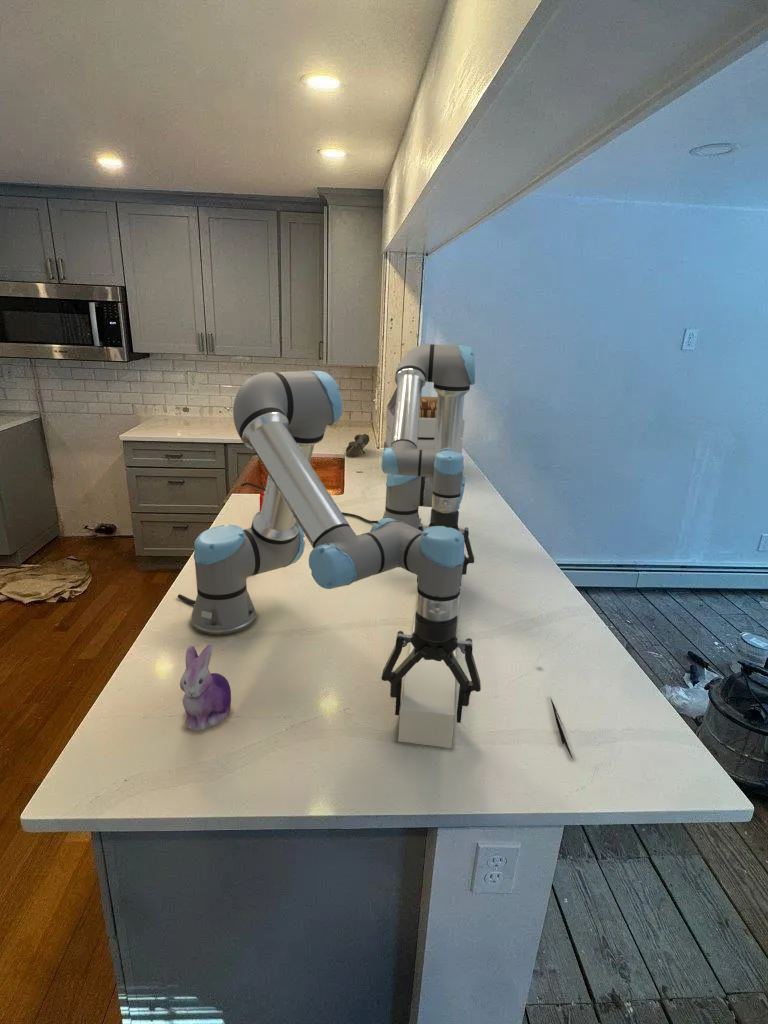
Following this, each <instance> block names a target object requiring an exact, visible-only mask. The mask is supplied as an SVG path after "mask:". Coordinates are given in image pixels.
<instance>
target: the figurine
mask: <svg viewBox="0 0 768 1024" xmlns="http://www.w3.org/2000/svg"><path fill="white" fill-rule="evenodd" d="M213 649H214V648H213V645H212V644H211V643H208V644H206V646H204V648H203V649H202V651H201V652H200V653H199V655H198V651H197V650H196V647H195V646H194V645H190V646H188V647H187V648H186V652H185V659H184V660H185V669H184V672H183V673H182V675H181V678H180V681H179V687H180V690H181V691H182V692H183V693H184V694H183V697H182V705H183V708H184V711H185V714H186V718H185V722H184V723H185V727H186V728H187V729H189V730H194V731H198V732H199V731H204V730H205V729H207V728H213V727H215V726H217V725H219V724H220V723H221V722H222V721H224V720H225V719H227V717H229V715H230V712H231V705H232V689H231V686H230V683H229V681H228V679H227V678H226V677H225V676H224V675H222V674H221V673H219V672H218V673H217V672H212V673H211V671H210V669H209V665H210V662H211V658H212V654H213Z"/></svg>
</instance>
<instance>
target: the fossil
mask: <svg viewBox="0 0 768 1024" xmlns="http://www.w3.org/2000/svg"><path fill="white" fill-rule="evenodd" d="M369 443H370V436H369V434H367V433H363V434H361V433H360V434H356V435H355V436H354V441H349V442H348V445H347V447H346V449H345V455H346V457H348V458H351V457H354V456H356V455H357V454H359V453H361V452H362V454H365V451H364V448H365V447H366V446H368V444H369Z"/></svg>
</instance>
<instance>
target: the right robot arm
mask: <svg viewBox="0 0 768 1024" xmlns="http://www.w3.org/2000/svg"><path fill="white" fill-rule="evenodd" d="M475 358H476V357H475V351H474V349H473V348H472V347H471V346H467V345H460V344H436V343H435V344H434V343H433V344H432V343H423V344H419V345H417V346H415V347H413V348H411V349H410V350H409V351H407V353H405V355H404V356H403V357H402V358H401V360H400V361H399V363H398V364H397V367H396V369H395V373H394V374H395V376H394V382H395V385H396V388H397V396H396V405H395V414H394V423H393V432H392V441H391V447H389V448H384V447H383V451H382V455H381V457H382V458H381V470H382V473H384V474H386V482H385V487H386V488H385V489H386V490H385V504H384V505H385V507H384V508H385V509H384V513H383V515H382V519H384V518H391V519H394V520H398V521H401V522H404V523H406V524H408V525H410V526H412V527H414V528H416V529H418V530H421V531H424V530H425V529H426V528H428V527H432V526H445V527H447V528H454V529H456V530H458V531H459V532H461V534H462V535H463V536H464V547H465V549H466V551H467V556H468V557H467V556H466V554H465V553H464V555H465V559H464V563H463V570H462V577H461V582H462V581H463V576H466V575H467V571H468V565H469V564H474V563H475V555H474V553H473V548H472V545H471V540H470V538H469V534H470V532H469V531H470V529H469V527H464V528H460V527H459V516H460V511H459V510H460V506H461V503H462V500H463V496H464V493H465V492H464V491H465V486H466V476H465V475H463V473H464V467H465V466H464V465H465V462H464V455H463V454H462V453H461V454H460V453H459V448H460V439H461V438H460V437H461V426H462V419H463V414H464V403H465V395H467V393H468V392H470V388H471V386H474V385H475V384H476V360H475ZM426 382H427V383H433V390H434V391H435V392H436V393H437V396H436V397H437V411H436V424H435V437H434V451H432V450H418V449H417V441H418V429H419V417H420V405H421V397H422V391H423V389H424V387H425V385H426ZM244 486H250V487H251V486H252V487H255V488H257V489H260V490H262V491H264V492H265V489H266V487H263V486H261V485H257V484H255V483H252V482H244V483H241V484H240V487H244ZM419 507H424V508H431V509H430V519H429V524H427V525H426V524H423V523H421V522H422V517H421V518H420V515H419ZM341 513H342V514H343V516H347V517H348V516H349V517H352V518H356V519H360V520H361V521H363V522H366V523H367V524H377V523H378V521H379V520H369V519H367V518H364V517H362V516H360V515H358V514H354V513H349V512H342V511H341ZM416 576H417V575H416ZM416 583H418V576H417V577H416ZM460 587H462V583H461V584H460Z"/></svg>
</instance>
